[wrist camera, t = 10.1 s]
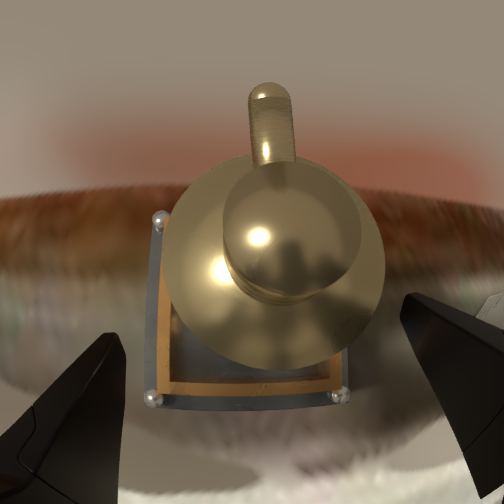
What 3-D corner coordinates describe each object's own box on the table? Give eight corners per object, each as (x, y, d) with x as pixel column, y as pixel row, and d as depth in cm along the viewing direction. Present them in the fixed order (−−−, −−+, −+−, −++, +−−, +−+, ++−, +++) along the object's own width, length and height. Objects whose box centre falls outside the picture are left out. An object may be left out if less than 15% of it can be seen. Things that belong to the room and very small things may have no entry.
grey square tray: (322, 235, 21) (348, 202, 16) (330, 395, 17) (363, 408, 13) (163, 232, 20) (146, 197, 15) (157, 398, 17) (134, 413, 12)
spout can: (300, 349, 15) (460, 336, 4) (206, 361, 15) (147, 399, 3) (284, 248, 17) (373, 82, 6) (195, 257, 17) (147, 83, 5)
